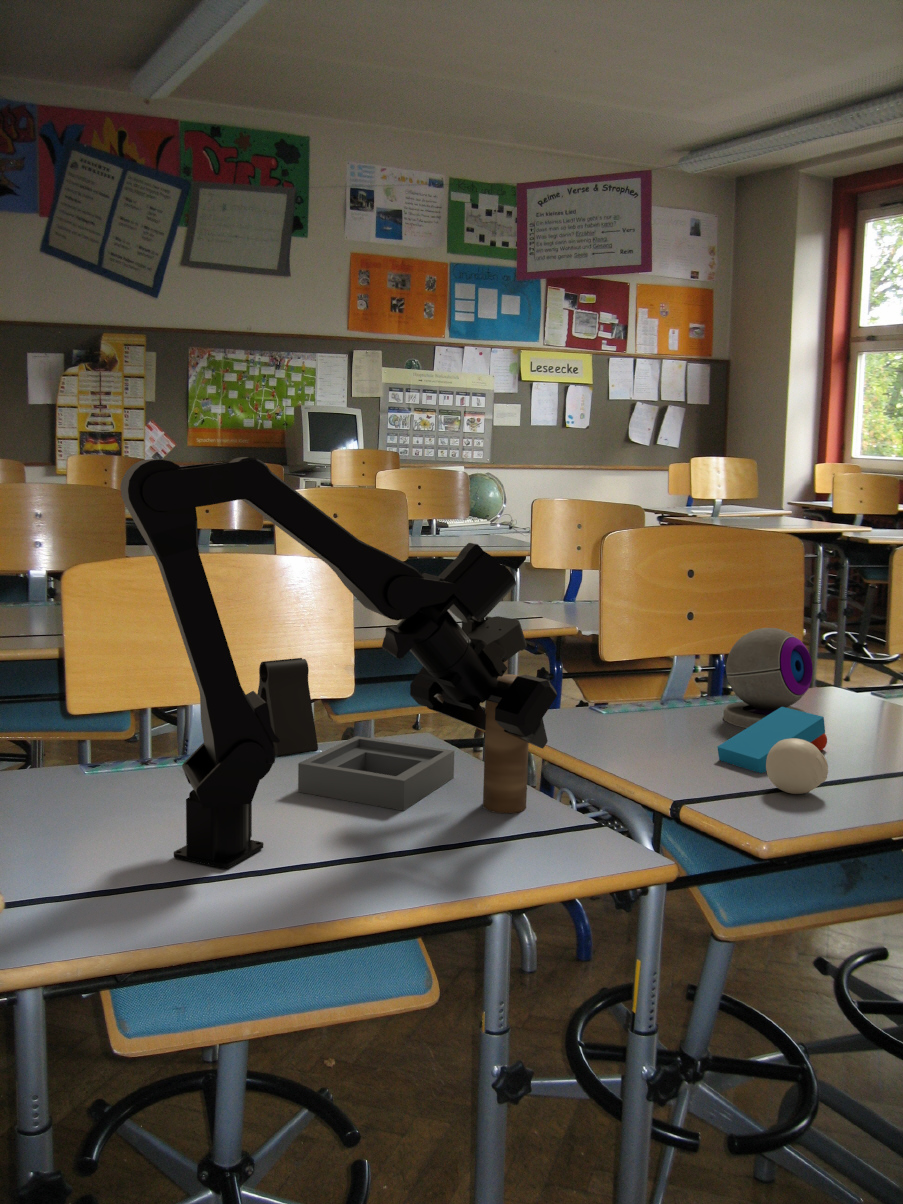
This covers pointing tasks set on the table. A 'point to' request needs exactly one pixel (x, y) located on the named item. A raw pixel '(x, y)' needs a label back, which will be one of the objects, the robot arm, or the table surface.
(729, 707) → the webcam
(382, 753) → the box
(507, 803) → the walnut peg
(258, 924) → the table surface
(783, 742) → the beige ball
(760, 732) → the teal long block
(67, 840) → the table surface
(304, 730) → the door stopper
